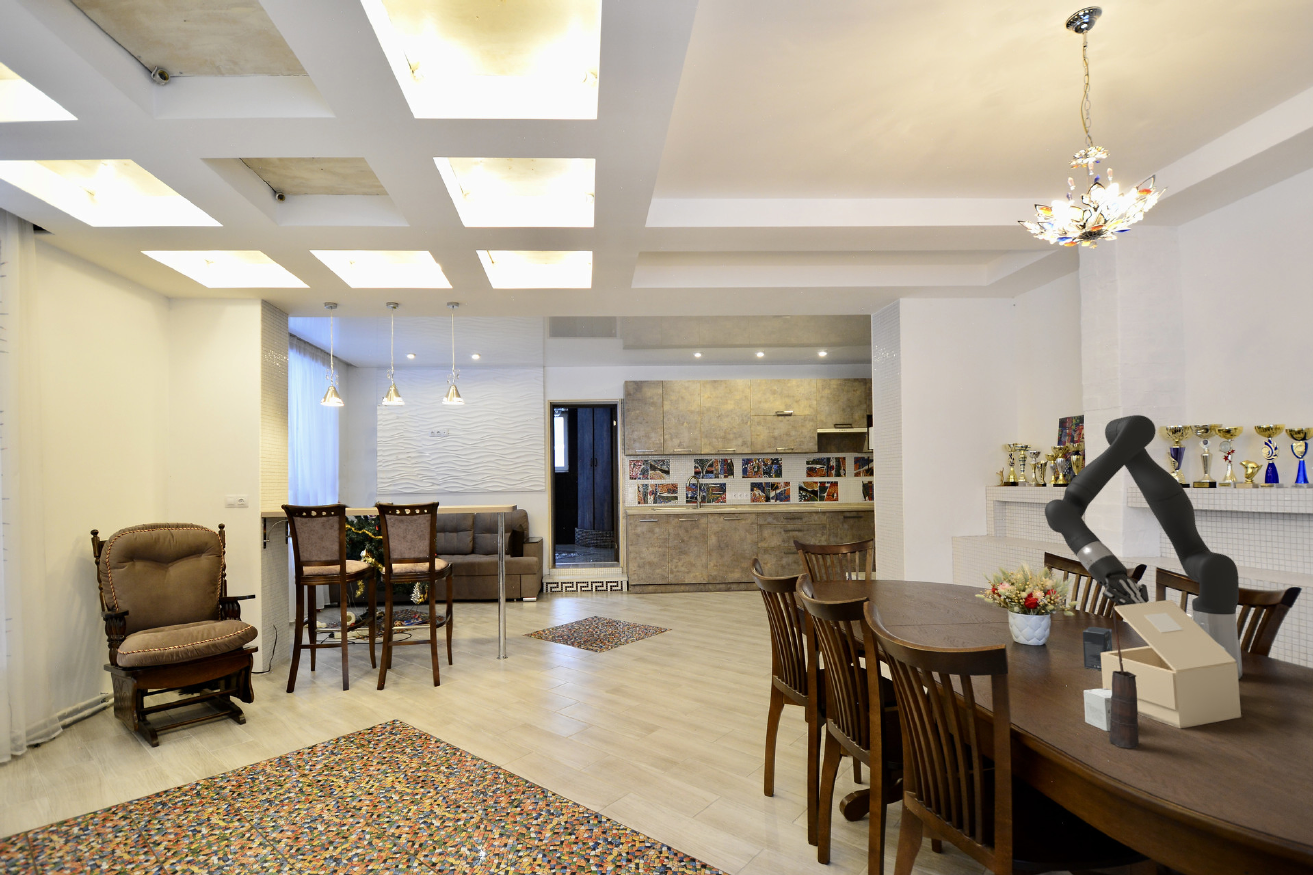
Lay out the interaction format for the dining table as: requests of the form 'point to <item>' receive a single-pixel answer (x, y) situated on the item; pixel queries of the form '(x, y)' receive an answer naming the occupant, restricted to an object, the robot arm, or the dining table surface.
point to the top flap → (1174, 635)
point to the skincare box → (1098, 707)
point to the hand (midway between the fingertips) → (1150, 619)
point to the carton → (1177, 688)
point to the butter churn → (1123, 704)
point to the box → (1096, 646)
